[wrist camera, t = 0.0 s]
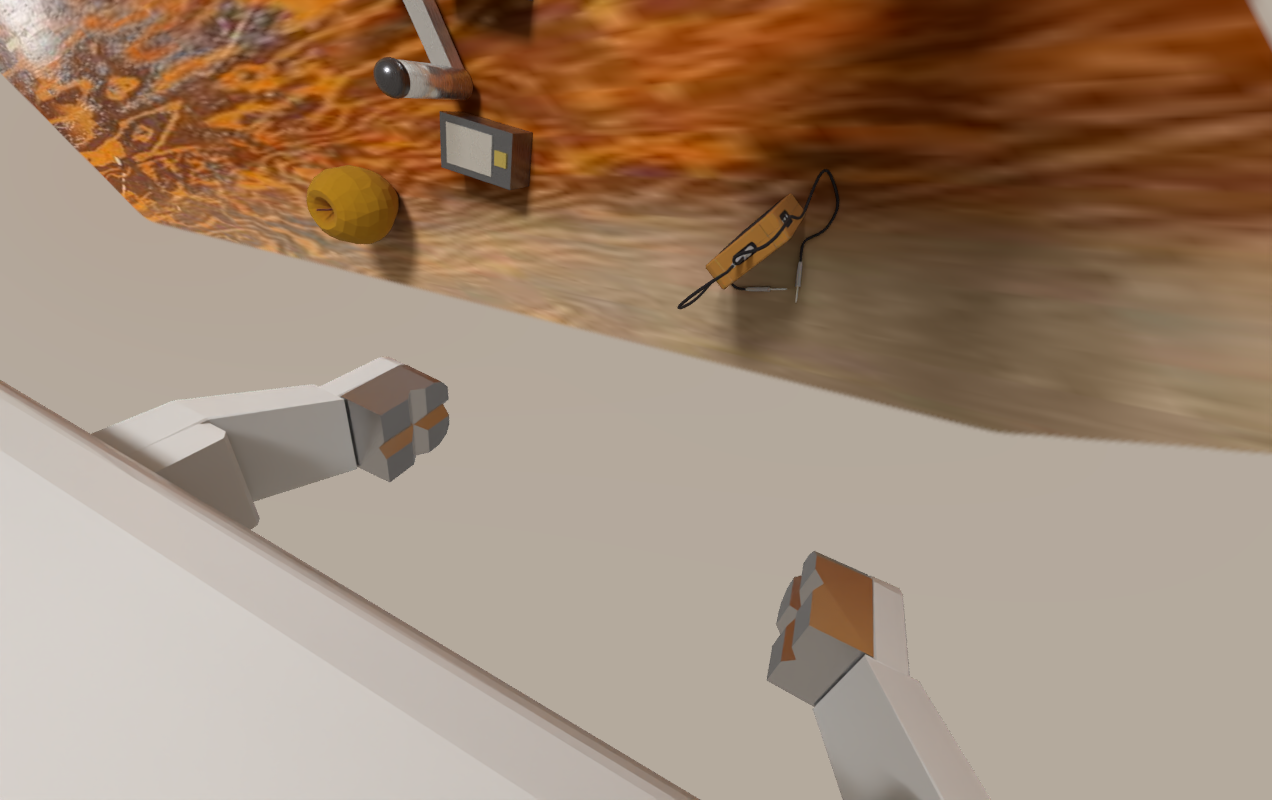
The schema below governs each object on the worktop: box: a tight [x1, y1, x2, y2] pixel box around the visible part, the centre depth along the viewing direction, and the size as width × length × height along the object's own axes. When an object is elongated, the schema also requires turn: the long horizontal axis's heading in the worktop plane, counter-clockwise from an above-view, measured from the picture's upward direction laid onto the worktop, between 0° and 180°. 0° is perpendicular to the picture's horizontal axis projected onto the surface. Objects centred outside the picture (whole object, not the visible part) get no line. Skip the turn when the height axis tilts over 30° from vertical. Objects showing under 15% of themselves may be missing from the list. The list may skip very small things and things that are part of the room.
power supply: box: [440, 111, 533, 190], centre depth 57 cm, size 6×10×4 cm, turn 77°
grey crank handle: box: [374, 0, 473, 100], centre depth 48 cm, size 18×4×12 cm, turn 22°
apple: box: [306, 165, 399, 244], centre depth 64 cm, size 10×10×12 cm
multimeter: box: [678, 169, 839, 309], centre depth 43 cm, size 15×10×20 cm
